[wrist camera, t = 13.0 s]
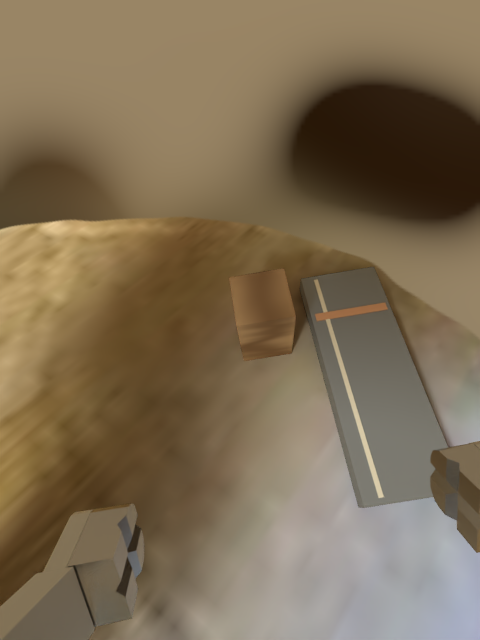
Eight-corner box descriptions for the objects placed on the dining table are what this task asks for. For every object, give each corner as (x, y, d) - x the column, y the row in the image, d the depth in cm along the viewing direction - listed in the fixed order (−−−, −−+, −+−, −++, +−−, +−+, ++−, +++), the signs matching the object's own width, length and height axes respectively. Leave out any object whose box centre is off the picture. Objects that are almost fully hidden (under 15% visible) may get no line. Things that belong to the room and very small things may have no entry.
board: (358, 507, 28) (364, 507, 26) (299, 288, 39) (301, 278, 37) (454, 492, 28) (467, 491, 26) (369, 277, 39) (374, 265, 37)
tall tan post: (243, 361, 35) (236, 326, 28) (237, 319, 38) (228, 277, 31) (291, 353, 35) (295, 316, 28) (282, 311, 38) (283, 268, 31)
